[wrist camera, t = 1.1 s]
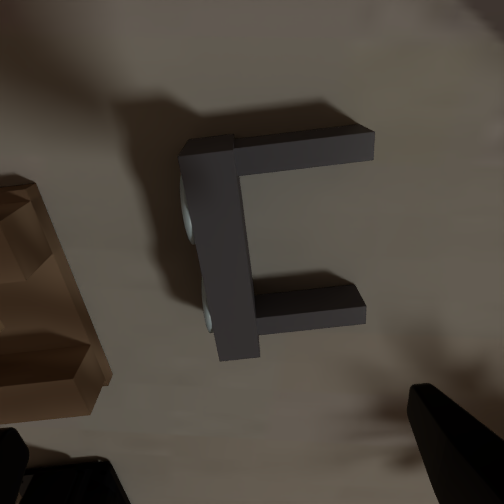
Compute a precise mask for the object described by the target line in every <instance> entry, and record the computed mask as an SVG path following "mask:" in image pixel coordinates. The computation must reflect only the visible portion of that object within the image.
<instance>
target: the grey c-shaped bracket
mask: <svg viewBox="0 0 504 504" xmlns="http://www.w3.org/2000/svg"><path fill="white" fill-rule="evenodd" d="M374 140H375V132H374V131H372V130H370V129H368V128H366V127H364V126H362V125H360V124H357V125H349V126H340V127H332V128H324V129H315V130H307V131H299V132H290V133H282V134H274V135H265V136H257V137H249V138H240V139H234V134H230V135H222V136H213V137H205V138H197V139H189V140H188V142H187V143H186V145H185V146H184V148H183V149H182V151H181V152H180V154H179V155H178V161H179V166H180V171H181V177H180V199H181V208H182V215H183V220H184V225H185V229H186V232H187V235H188V238H189V240H190V242H191V243H192V244H196V249H197V253H198V258H199V263H200V268H201V273H202V303H203V311H204V317H205V322H206V326H207V329H208V331H209V333H214V336H215V341H216V346H217V351H218V356H219V361H229V360H238V359H247V358H257V357H260V347H259V335H266V334H275V333H284V332H293V331H303V330H312V329H321V328H330V327H339V326H349V325H358V324H366V304H365V303H364V301H363V299H362V297H361V295H360V293H359V291H358V289H357V287H356V286H355V285H346V286H337V287H328V288H319V289H310V290H301V291H292V292H283V293H274V294H265V295H256V296H255V295H254V287H253V279H252V272H251V264H250V256H249V248H248V241H247V233H246V225H245V217H244V209H243V202H242V194H241V186H240V178H239V176H243V175H251V174H260V173H268V172H277V171H285V170H294V169H302V168H311V167H319V166H328V165H336V164H345V163H353V162H361V161H370V160H374Z"/></svg>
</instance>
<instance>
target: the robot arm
mask: <svg viewBox="0 0 504 504" xmlns="http://www.w3.org/2000/svg"><path fill="white" fill-rule="evenodd" d="M407 415H408V419H409V422H410V425H411V428H412V431H413V434H414V436H415V439H416V442H417V445H418V448H419V451H420V454H421V456H422V459H423V462H424V465H425V468H426V471H427V474H428V476H429V479H430V482H431V485H432V487H433V490H434V493H435V495H436V497H437V500H438V502H439V504H504V440H503V439H502V438H500V437H499V436H498V435H496V434H495V433H494V432H493V431H491V430H490V429H489V428H487V427H486V426H485V425H484V424H482V423H481V422H480V421H478V420H477V419H476V418H475V417H473V416H472V415H471V414H469V413H468V412H467V411H466V410H464V409H463V408H462V407H460V406H459V405H458V404H457V403H455V402H454V401H453V400H451V399H450V398H449V397H448V396H446V395H445V394H444V393H443V392H441V391H440V390H439V389H437V388H436V387H435V386H433V385H432V384H429V383H422V384H414V385H412V386H411V387H410V390H409V398H408V405H407ZM28 460H29V449H28V447H27V445H26V444H25V442H24V441H23V439H22V437H21V436H20V434H19V433H18V431H17V430H16V429H15V428H13V427H9V428H0V504H15V502H16V499H17V496H18V493H20V494H21V496H22V499H21V501H20V503H19V504H131V503H130V501H129V499H128V497H127V495H126V493H125V491H124V489H123V487H122V485H121V483H120V481H119V478H118V476H117V474H116V472H115V470H114V468H113V466H112V465H111V464H110V463H108V462H95V463H85V464H75V465H66V466H56V467H46V468H36V469H26V467H27V464H28Z"/></svg>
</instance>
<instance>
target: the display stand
mask: <svg viewBox="0 0 504 504" xmlns="http://www.w3.org/2000/svg"><path fill="white" fill-rule="evenodd" d="M112 375H113V374H112V371H111V369H110V366H109V364H108V361H107V359H106V356H105V354H104V351H103V349H102V346H101V344H100V341H99V339H98V336H97V334H96V331H95V329H94V326H93V324H92V321H91V319H90V316H89V314H88V312H87V309H86V307H85V304H84V302H83V299H82V297H81V294H80V292H79V289H78V287H77V284H76V282H75V279H74V277H73V274H72V272H71V269H70V267H69V264H68V262H67V259H66V257H65V254H64V252H63V249H62V247H61V244H60V242H59V239H58V237H57V235H56V232H55V230H54V227H53V225H52V222H51V220H50V217H49V215H48V212H47V210H46V207H45V205H44V202H43V200H42V197H41V195H40V192H39V190H38V187H37V185H36V183H33V184H25V185H16V186H8V187H0V424H9V423H19V422H28V421H38V420H47V419H57V418H66V417H76V416H85V415H90V414H91V412H92V410H93V407H94V405H95V403H96V400H97V398H98V395H99V393H100V391H101V388H102V386H108V385H109V382H110V380H111V377H112Z"/></svg>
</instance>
